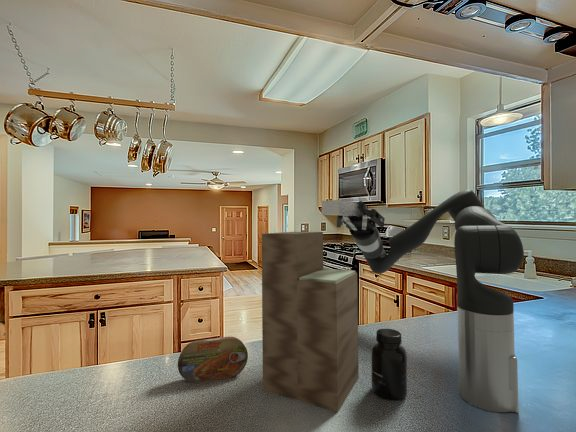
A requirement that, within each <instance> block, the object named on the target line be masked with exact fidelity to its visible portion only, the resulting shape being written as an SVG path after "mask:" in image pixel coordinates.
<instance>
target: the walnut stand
mask: <svg viewBox="0 0 576 432" xmlns="http://www.w3.org/2000/svg"><path fill="white" fill-rule="evenodd" d="M358 300H359V299H358V272H356V270H350V269H337V268H335V269H333V268H324V231H286V232H285V231H284V232H283V231H282V232H269V233H267V232H265V233H261V306H262V307H261V308H262V309H261V310H262V312H261V320H262V323H261V324H262V325H261V329H262V330H261V333H262V342H261V343H262V346H261V347H262V391H264V392H267V393H270V394H273V395H277V396H280V397H283V398H288V399H291V400H294V401H296V402H297V401H298V402H300V403H304V404H309V405H311V406H316V407H319V408H322V409H326V410H329V411H332V412H337V413H338V412H339V411H340V409H341V408H342V407H343V405H344V403H345V401H346V400H347V398H348V396H349V395H350V393H351V392H352V389H353V388H354V386H355V385H356V383H357V381H358V380H359V378H360V377H359V376H360V374H359V372H360V371H359V367H360V366H359V364H360V363H359V314H358V313H359V309H358V308H359V307H358V302H359V301H358Z"/></svg>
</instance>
